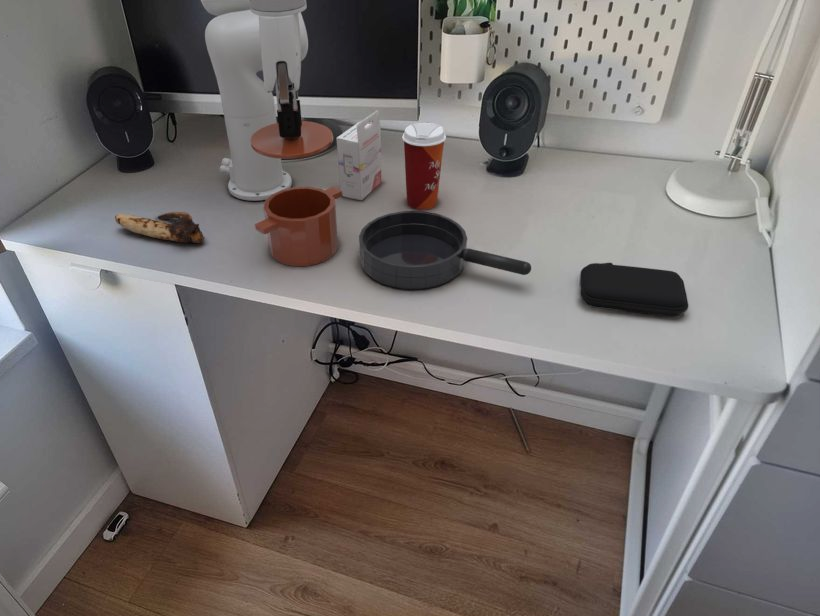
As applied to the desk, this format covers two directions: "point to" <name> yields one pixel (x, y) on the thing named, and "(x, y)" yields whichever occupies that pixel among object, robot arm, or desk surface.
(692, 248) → the desk surface
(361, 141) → the ink cartridge box
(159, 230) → the overripe banana
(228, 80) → the robot arm
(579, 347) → the desk surface
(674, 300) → the carrying case
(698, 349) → the desk surface
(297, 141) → the lid
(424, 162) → the paper cup
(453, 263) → the pan
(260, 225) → the pot
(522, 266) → the pan handle
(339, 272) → the desk surface
